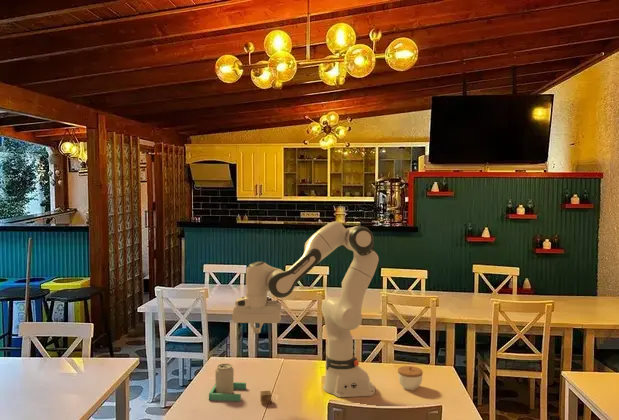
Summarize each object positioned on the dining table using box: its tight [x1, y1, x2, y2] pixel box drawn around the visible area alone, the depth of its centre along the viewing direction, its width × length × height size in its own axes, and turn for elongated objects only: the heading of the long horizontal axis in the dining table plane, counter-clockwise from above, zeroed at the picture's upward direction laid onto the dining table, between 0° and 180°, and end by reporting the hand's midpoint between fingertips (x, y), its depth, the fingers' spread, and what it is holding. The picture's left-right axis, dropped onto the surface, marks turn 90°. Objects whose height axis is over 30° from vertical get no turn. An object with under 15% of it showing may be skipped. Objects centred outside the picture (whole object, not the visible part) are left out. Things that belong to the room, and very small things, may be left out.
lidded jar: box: [397, 365, 424, 391], centre depth 221 cm, size 11×11×9 cm
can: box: [214, 363, 234, 394], centre depth 212 cm, size 8×8×12 cm
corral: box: [208, 381, 247, 402], centre depth 212 cm, size 13×13×2 cm
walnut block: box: [259, 390, 272, 406], centre depth 204 cm, size 4×4×4 cm
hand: (256, 332), depth 212 cm, fingers closed
